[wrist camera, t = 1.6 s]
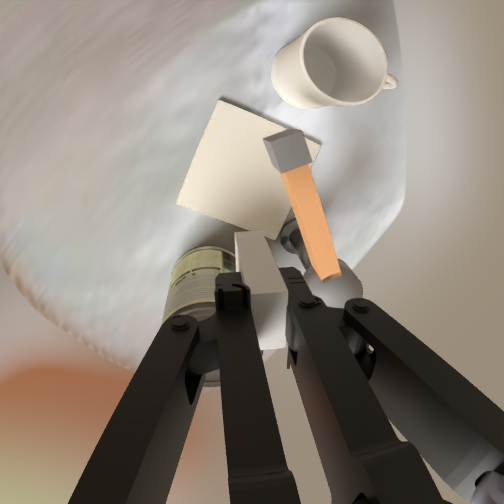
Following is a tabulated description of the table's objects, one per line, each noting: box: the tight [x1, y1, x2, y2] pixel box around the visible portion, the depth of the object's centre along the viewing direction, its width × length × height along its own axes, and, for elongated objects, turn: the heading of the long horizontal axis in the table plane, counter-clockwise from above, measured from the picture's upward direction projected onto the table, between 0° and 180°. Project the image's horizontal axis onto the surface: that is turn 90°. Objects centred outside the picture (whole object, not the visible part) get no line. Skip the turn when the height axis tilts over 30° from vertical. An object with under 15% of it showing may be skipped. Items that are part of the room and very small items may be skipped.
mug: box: [271, 17, 398, 109], centre depth 28 cm, size 12×8×12 cm
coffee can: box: [161, 246, 263, 387], centre depth 36 cm, size 10×10×14 cm
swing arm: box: [262, 129, 363, 308], centre depth 26 cm, size 17×5×4 cm, turn 21°
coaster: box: [176, 100, 321, 240], centre depth 37 cm, size 13×13×1 cm
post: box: [280, 219, 311, 270], centre depth 36 cm, size 4×4×12 cm
